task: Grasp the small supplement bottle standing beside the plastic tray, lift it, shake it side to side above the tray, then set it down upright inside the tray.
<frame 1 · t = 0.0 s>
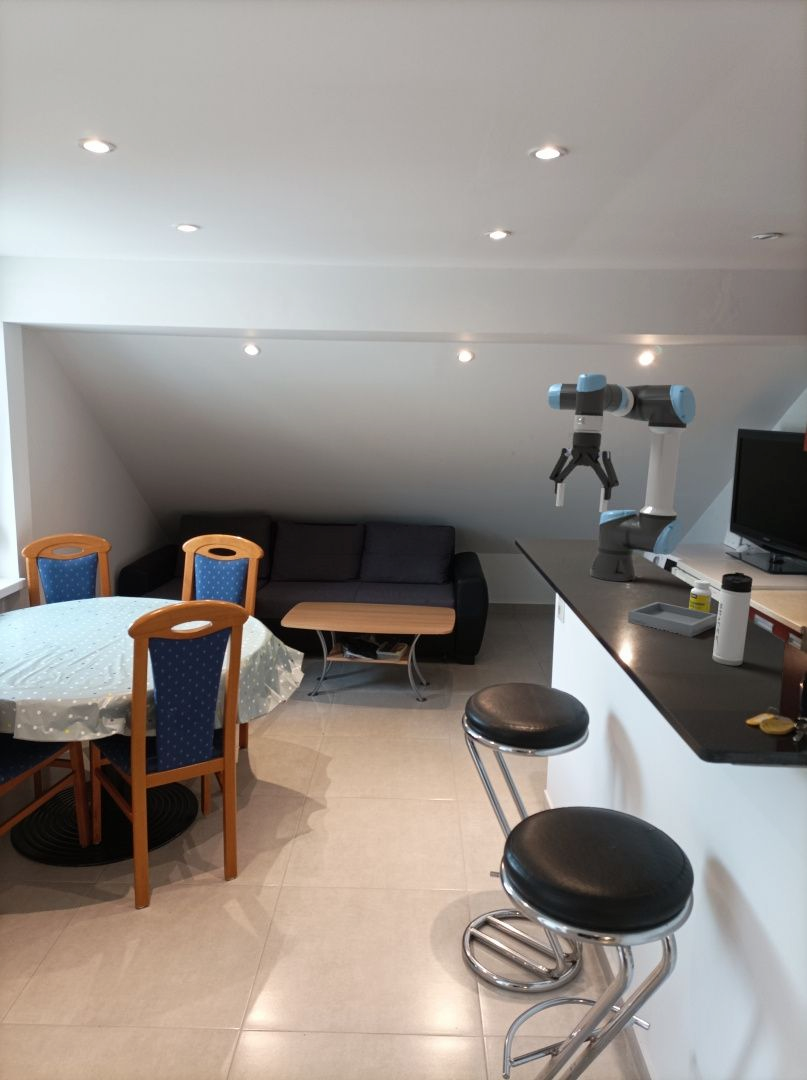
hand: (580, 509, 208), 28 cm above the table, fingers open, 13 cm apart
tray: (672, 623, 199), on the table
travel mug: (727, 662, 169), on the table
supplement bottle: (698, 616, 209), on the table
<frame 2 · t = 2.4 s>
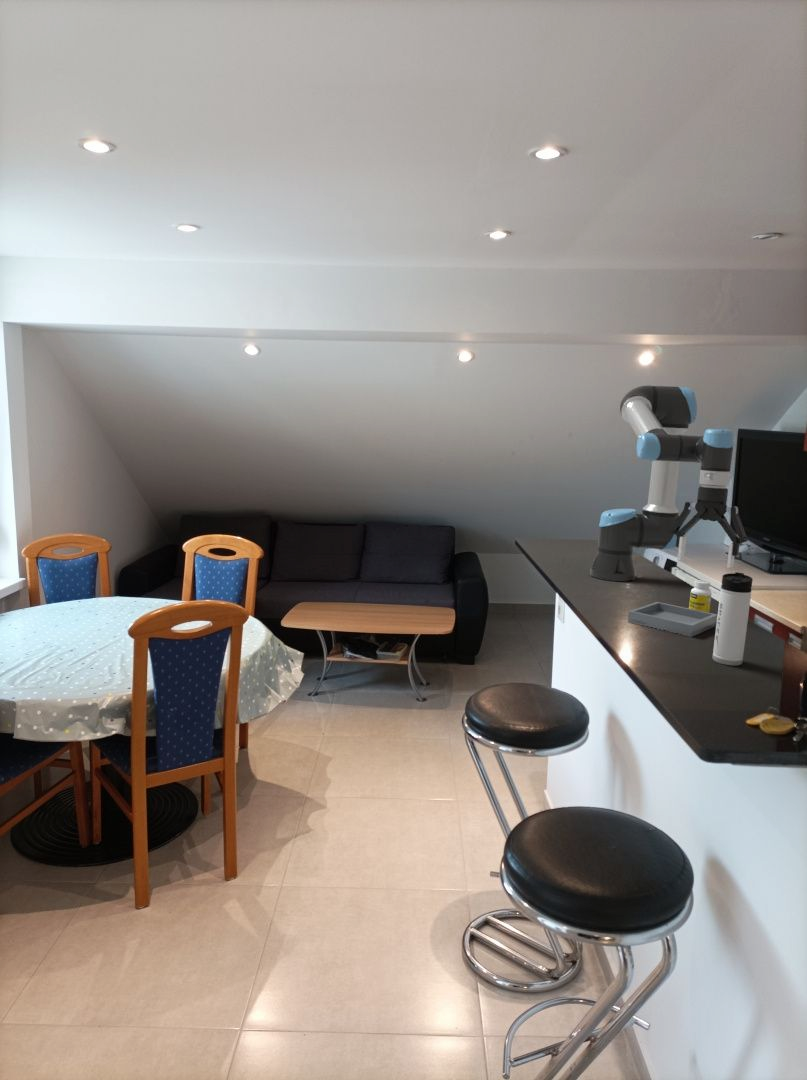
hand: (704, 563, 207), 15 cm above the table, fingers open, 13 cm apart
nothing on the table moved.
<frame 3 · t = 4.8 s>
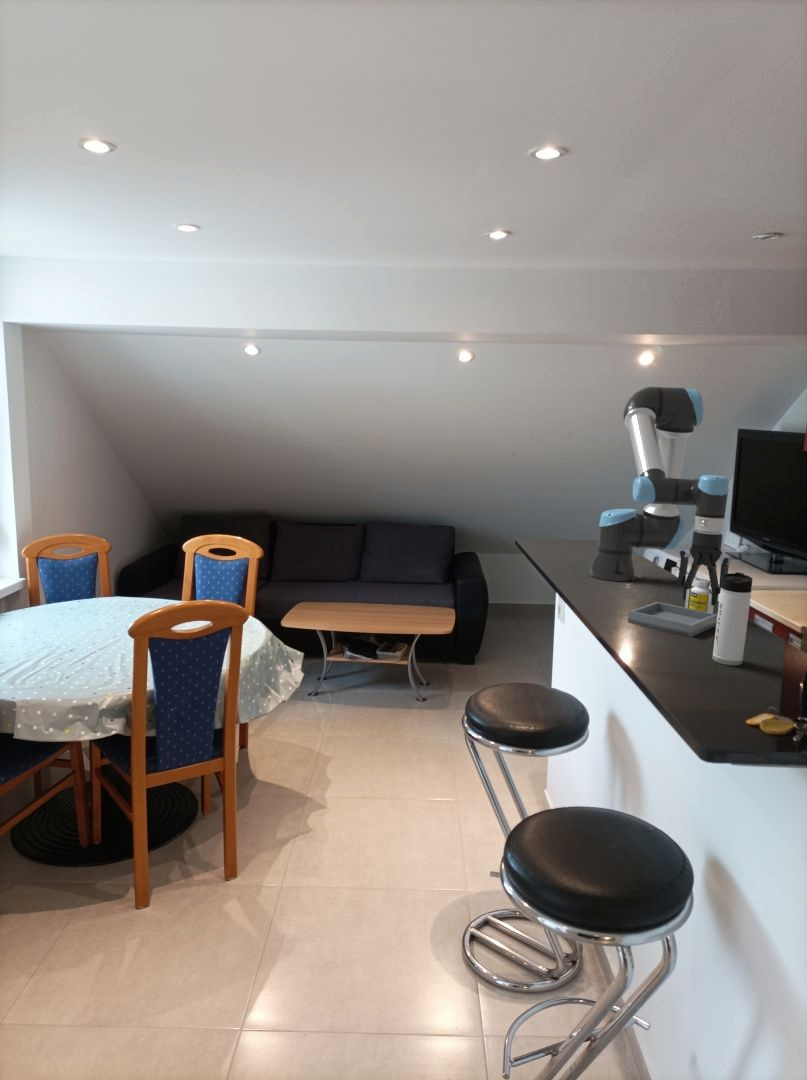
hand: (698, 613, 210), 1 cm above the table, fingers closed on supplement bottle, 5 cm apart
supplement bottle: (698, 615, 210), on the table, touching gripper
everything else where it was.
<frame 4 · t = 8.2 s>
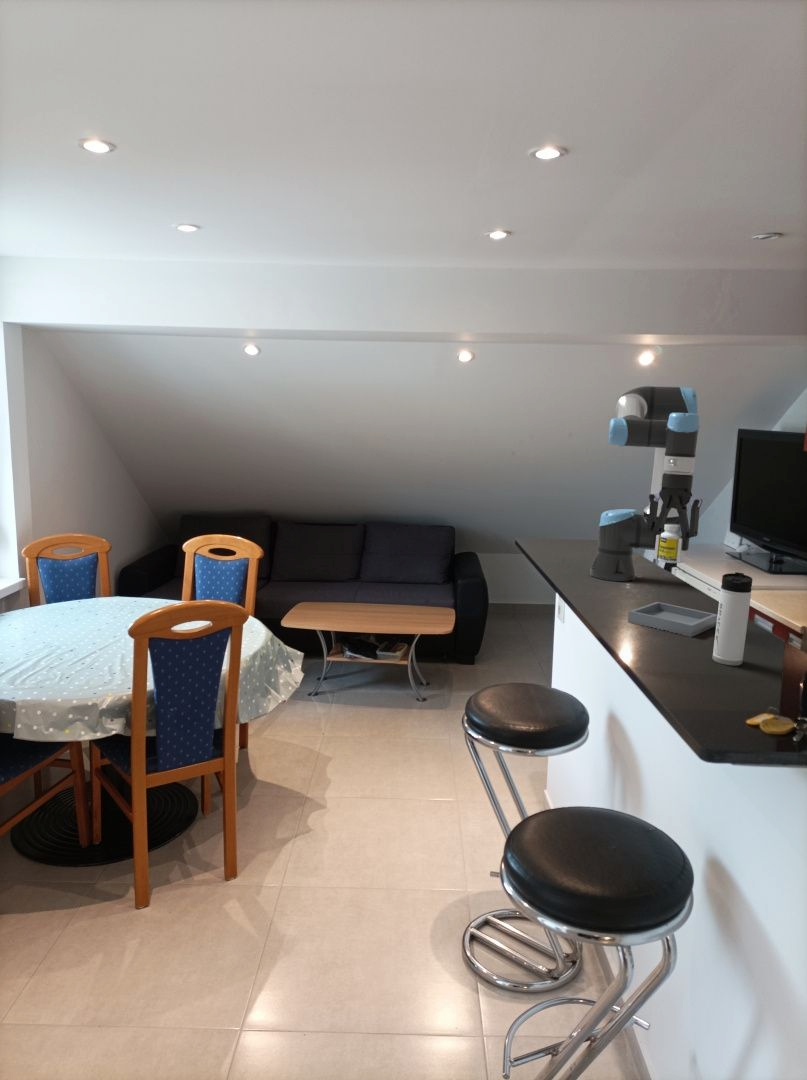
hand: (668, 560, 198), 17 cm above the table, fingers closed on supplement bottle, 5 cm apart
supplement bottle: (668, 562, 199), point 16 cm above the table, touching gripper
everything else where it was.
when the fingers open (3 cm above the table, at t = 11.7 s): supplement bottle drops 1 cm, resting on tray.
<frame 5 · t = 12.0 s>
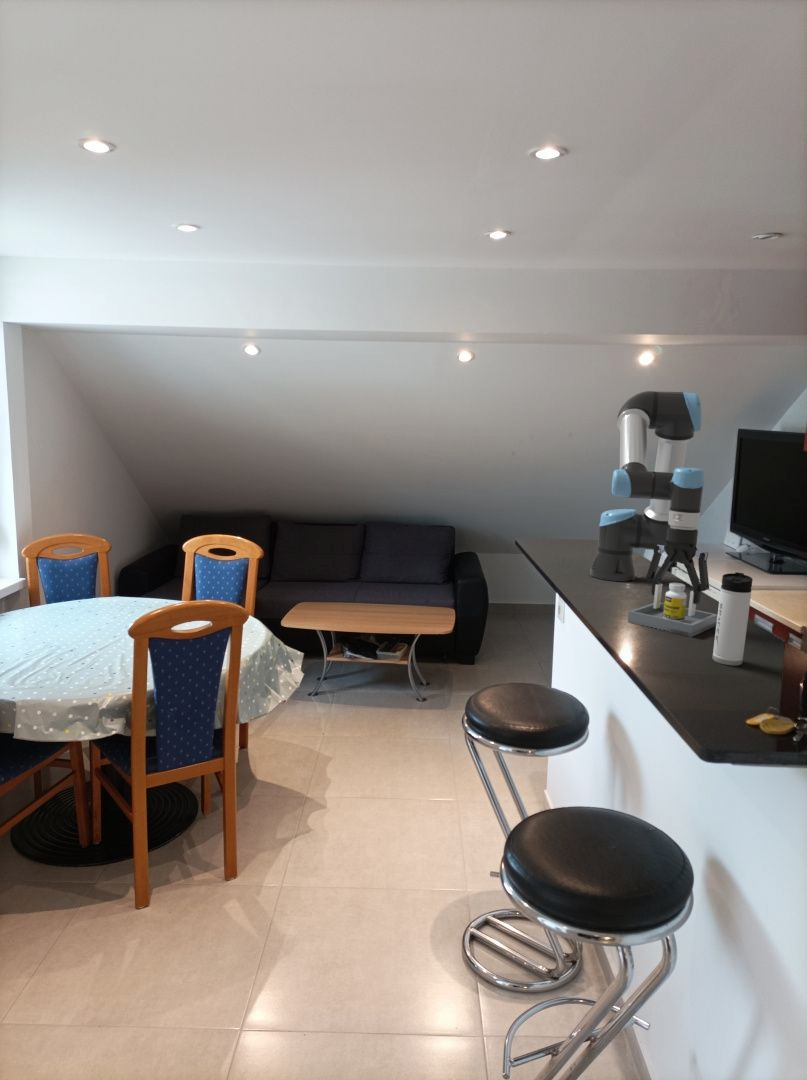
hand: (673, 611, 199), 3 cm above the table, fingers open, 9 cm apart
supplement bottle: (673, 620, 199), point 1 cm above the table, touching tray
everything else where it was.
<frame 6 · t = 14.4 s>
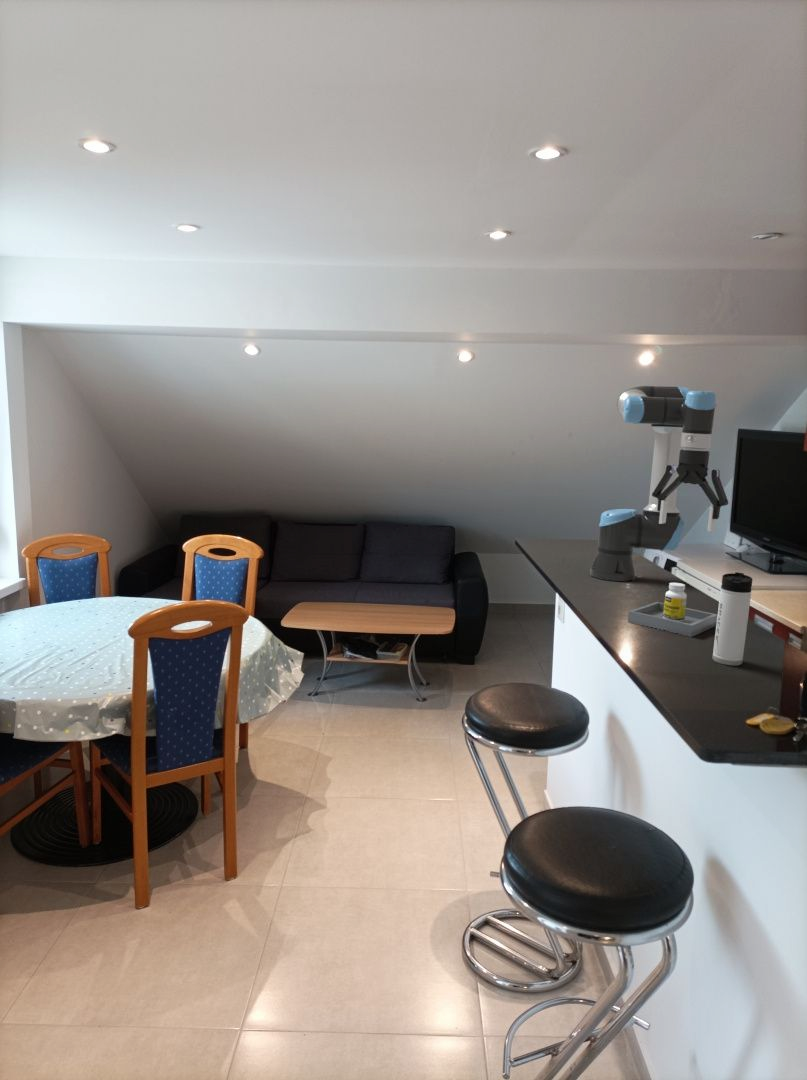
hand: (685, 527, 206), 25 cm above the table, fingers open, 13 cm apart
nothing on the table moved.
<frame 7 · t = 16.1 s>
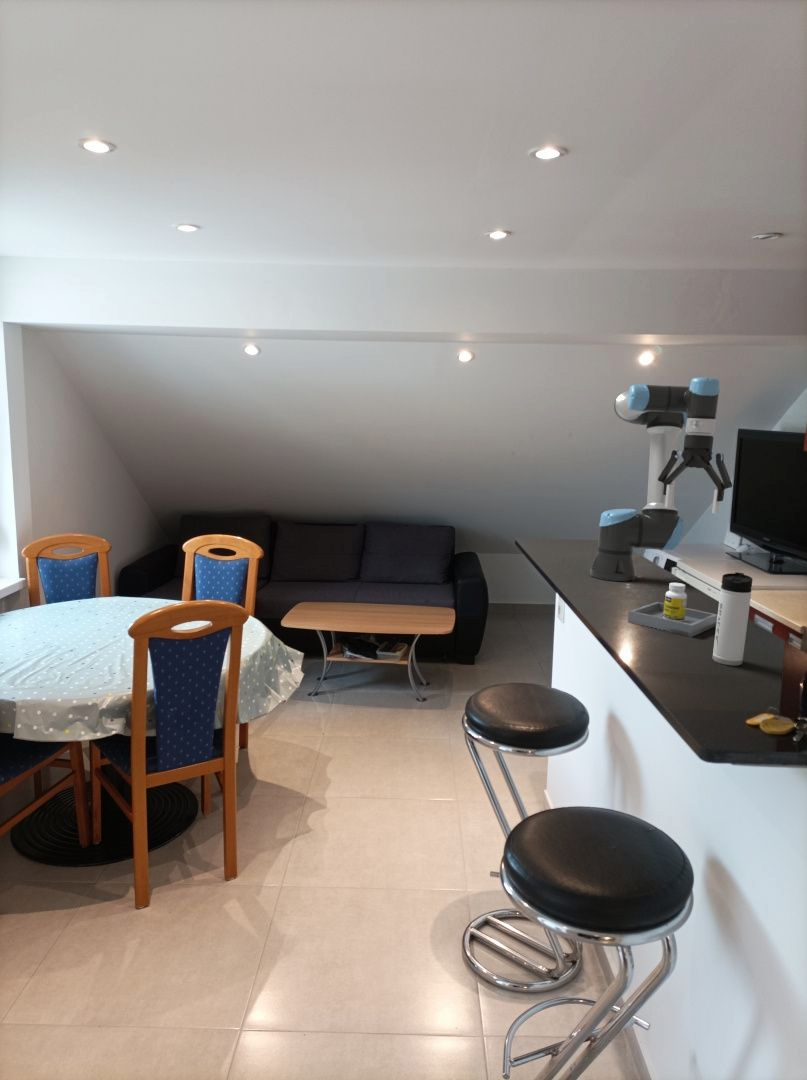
hand: (690, 510, 212), 29 cm above the table, fingers open, 13 cm apart
nothing on the table moved.
at the end: supplement bottle inside the target area on the tray (0.3 cm from its centre), point 0.8 cm above the tray's base; supplement bottle tilted 0°; the gripper is holding nothing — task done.
